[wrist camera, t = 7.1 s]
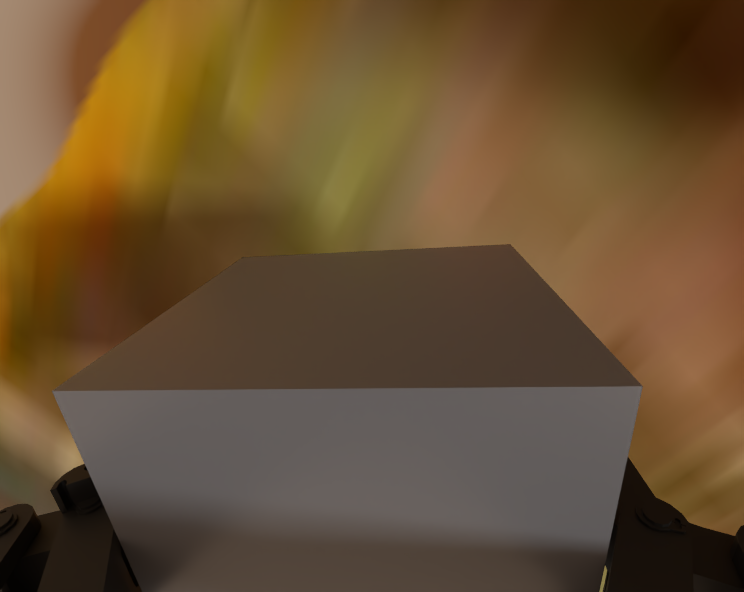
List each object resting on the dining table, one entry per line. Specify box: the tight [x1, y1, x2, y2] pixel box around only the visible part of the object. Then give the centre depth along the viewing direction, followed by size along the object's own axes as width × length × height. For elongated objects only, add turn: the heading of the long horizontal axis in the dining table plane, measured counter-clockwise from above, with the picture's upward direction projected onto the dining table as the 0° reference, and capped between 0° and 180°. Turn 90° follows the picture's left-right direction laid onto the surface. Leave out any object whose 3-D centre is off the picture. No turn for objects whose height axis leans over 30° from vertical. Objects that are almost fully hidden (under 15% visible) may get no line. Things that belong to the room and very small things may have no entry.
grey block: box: [52, 244, 643, 592], centre depth 13 cm, size 10×10×9 cm
